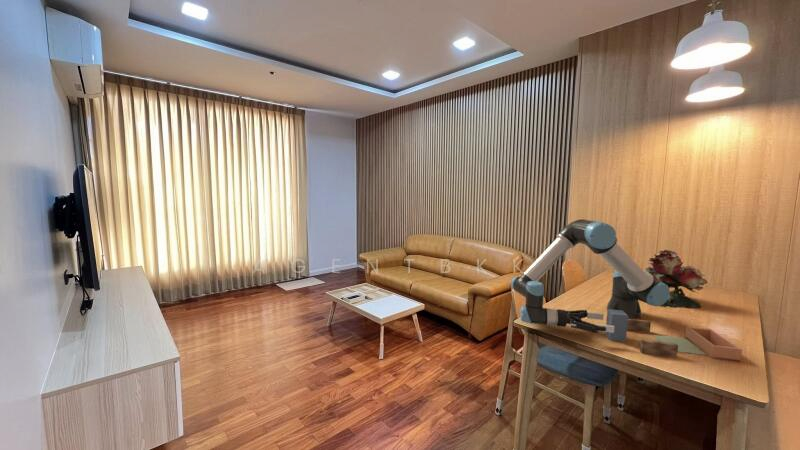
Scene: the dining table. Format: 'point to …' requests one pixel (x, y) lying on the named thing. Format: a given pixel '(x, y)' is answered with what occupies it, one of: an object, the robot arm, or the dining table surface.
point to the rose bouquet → (676, 278)
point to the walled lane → (652, 346)
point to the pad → (681, 344)
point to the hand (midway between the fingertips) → (608, 322)
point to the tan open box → (713, 344)
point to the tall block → (617, 324)
